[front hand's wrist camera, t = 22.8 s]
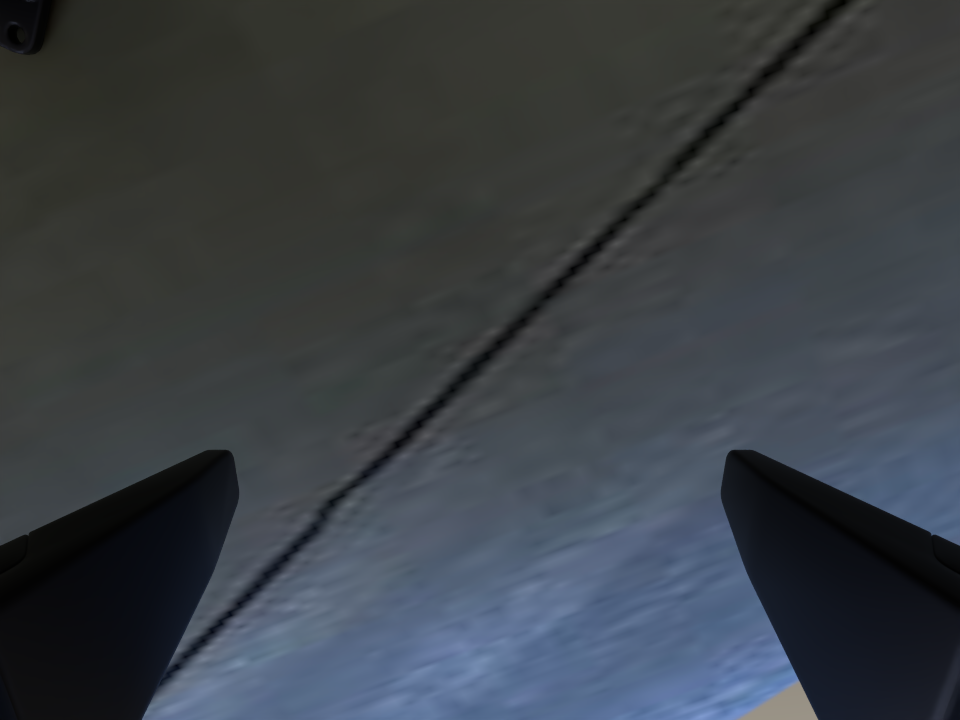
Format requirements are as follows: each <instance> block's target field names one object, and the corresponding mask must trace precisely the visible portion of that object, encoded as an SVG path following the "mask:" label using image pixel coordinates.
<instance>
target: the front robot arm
mask: <svg viewBox="0 0 960 720" xmlns="http://www.w3.org/2000/svg"><path fill="white" fill-rule="evenodd" d="M51 1H52V0H0V46H2V47H4V48H6V49H8V50H10V51H12V52H16V53H19V54H27V55H30V54H36V53H37V52H38V51H39V50H40V49H41V47H42V45H43V40H44V35H45V30H46V25H47V21H48V16H49V11H50V6H51ZM19 27H21V28H22V29H23V31H24V33H25V40H24V42H23V43H21V42H20V41H19V40H18V38H17V32H16V31H17V30H18V28H19ZM238 499H239V486H238V480H237V474H236V468H235V462H234V457H233V455H232V453H231V452H230V451H229V450H207V451H204V452H202V453H200V454H198V455H195V456H193V457H191V458H189V459H187V460H185V461H182V462H180V463H178V464H176V465H174V466H172V467H170V468H167V469H165V470H163V471H161V472H159V473H157V474H154V475H152V476H150V477H148V478H146V479H144V480H141V481H139V482H137V483H135V484H133V485H131V486H129V487H126V488H124V489H122V490H120V491H118V492H116V493H113V494H111V495H109V496H107V497H105V498H103V499H101V500H98V501H96V502H94V503H92V504H90V505H88V506H85V507H83V508H81V509H79V510H77V511H75V512H72V513H70V514H68V515H66V516H64V517H62V518H60V519H57V520H55V521H53V522H51V523H49V524H47V525H44V526H42V527H40V528H38V529H36V530H34V531H32V532H30V533H29V536H28V535H23V536H20V537H18V538H16V539H14V540H12V541H10V542H8V543H5V544H3V545H1V546H0V720H142V718H143V716H144V714H145V712H146V710H147V708H148V706H149V704H150V702H151V700H152V698H153V695H154V693H155V691H156V689H157V687H158V685H159V683H160V681H161V679H162V677H163V675H164V673H165V671H166V669H167V667H168V665H169V663H170V661H171V659H172V657H173V654H174V652H175V650H176V648H177V646H178V644H179V642H180V640H181V638H182V636H183V634H184V632H185V630H186V628H187V626H188V624H189V622H190V620H191V618H192V616H193V614H194V611H195V609H196V607H197V605H198V603H199V601H200V599H201V597H202V595H203V593H204V591H205V589H206V587H207V585H208V583H209V580H210V578H211V576H212V574H213V572H214V569H215V566H216V564H217V561H218V558H219V555H220V552H221V550H222V547H223V544H224V541H225V538H226V535H227V532H228V529H229V527H230V524H231V521H232V518H233V515H234V512H235V509H236V507H237V504H238ZM721 499H722V504H723V507H724V509H725V512H726V515H727V518H728V521H729V524H730V527H731V529H732V532H733V535H734V538H735V541H736V544H737V547H738V550H739V552H740V555H741V558H742V561H743V564H744V566H745V569H746V571H747V574H748V576H749V578H750V580H751V583H752V585H753V587H754V589H755V591H756V593H757V595H758V597H759V599H760V601H761V603H762V605H763V607H764V609H765V611H766V614H767V616H768V618H769V620H770V622H771V624H772V626H773V628H774V630H775V632H776V634H777V636H778V638H779V640H780V642H781V644H782V646H783V648H784V650H785V652H786V654H787V657H788V659H789V661H790V663H791V665H792V667H793V669H794V671H795V673H796V675H797V677H798V679H799V681H800V683H801V685H802V687H803V689H804V691H805V693H806V695H807V698H808V700H809V702H810V704H811V706H812V708H813V710H814V712H815V714H816V716H817V718H818V720H960V546H959V545H957V544H955V543H952V542H950V541H948V540H946V539H944V538H942V537H940V536H937V535H932V536H931V533H930V532H929V531H926V530H924V529H922V528H920V527H918V526H916V525H913V524H911V523H909V522H907V521H905V520H903V519H900V518H898V517H896V516H894V515H892V514H890V513H888V512H885V511H883V510H881V509H879V508H877V507H875V506H872V505H870V504H868V503H866V502H864V501H862V500H859V499H857V498H855V497H853V496H851V495H849V494H847V493H844V492H842V491H840V490H838V489H836V488H834V487H831V486H829V485H827V484H825V483H823V482H821V481H819V480H816V479H814V478H812V477H810V476H808V475H806V474H803V473H801V472H799V471H797V470H795V469H793V468H790V467H788V466H786V465H784V464H782V463H780V462H778V461H775V460H773V459H771V458H769V457H767V456H765V455H762V454H760V453H758V452H756V451H753V450H731V451H730V452H729V453H728V455H727V457H726V462H725V468H724V474H723V480H722V486H721Z"/></svg>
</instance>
